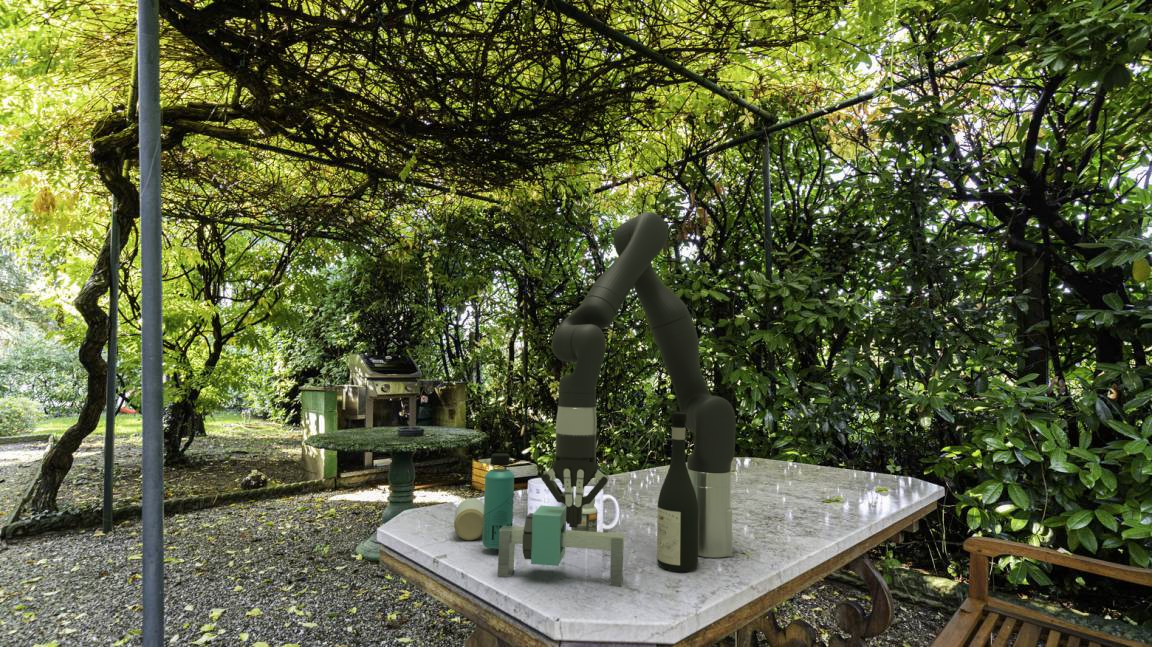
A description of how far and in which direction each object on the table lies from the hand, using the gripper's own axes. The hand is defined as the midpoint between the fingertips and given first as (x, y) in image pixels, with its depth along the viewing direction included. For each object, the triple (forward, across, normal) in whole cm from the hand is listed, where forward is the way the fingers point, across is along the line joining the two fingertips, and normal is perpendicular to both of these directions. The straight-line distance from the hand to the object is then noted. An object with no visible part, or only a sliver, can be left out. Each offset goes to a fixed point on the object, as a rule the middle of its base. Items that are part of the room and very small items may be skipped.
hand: (573, 526), depth 103 cm
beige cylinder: (+10, +25, -22) cm, 35 cm away
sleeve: (+6, +5, 0) cm, 8 cm away
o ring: (+6, +8, 0) cm, 10 cm away
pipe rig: (+9, +2, 0) cm, 10 cm away
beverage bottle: (+10, +18, -12) cm, 24 cm away
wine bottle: (+10, -19, -11) cm, 24 cm away
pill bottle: (+10, +1, -22) cm, 24 cm away
